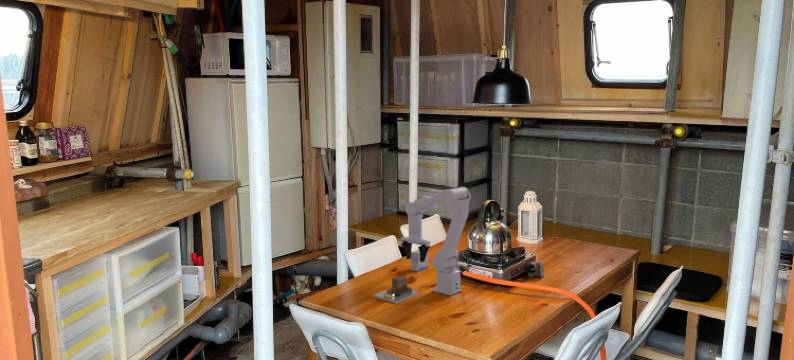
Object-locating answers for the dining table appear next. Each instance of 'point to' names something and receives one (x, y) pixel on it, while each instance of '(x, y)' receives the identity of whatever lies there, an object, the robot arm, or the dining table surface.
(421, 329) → the dining table surface
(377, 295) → the steel rosette plate
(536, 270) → the caster wheel
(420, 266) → the medicine box
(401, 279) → the walnut wedge block
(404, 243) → the robot arm
